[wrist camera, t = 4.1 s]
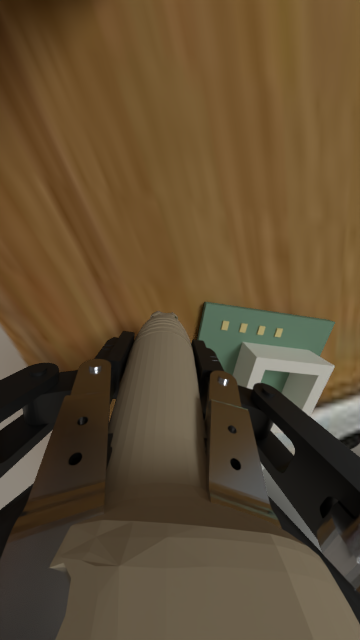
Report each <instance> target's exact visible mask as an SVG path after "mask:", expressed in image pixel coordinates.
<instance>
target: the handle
mask: <svg viewBox="0 0 360 640" xmlns="http://www.w3.org/2000/svg"><path fill="white" fill-rule="evenodd" d="M108 433H114V434H113V438H112V442H111V446H110V447H112V453H111V457H110V460H109V464H108V467H107V470H106V486H105V505H104V514H102V515H99V516H96V517H93V518H90V519H87V520H84V521H82V522H79V523H76V524H73V525H72V526H70V528H69V530H68V532H67V534H66V536H65V538H64V540H63V542H62V544H61V545H60V547H59V549H58V551H57V553H56V555H55V557H54V558H53V560H52V562H51V565H50V567H49V568H58V567H66V569H67V571H68V573H69V575H70V577H71V582H70V589H69V595H68V602H67V609H66V615H65V617H64V620H63V622H62V625H61V627H60V630H59V632H58V634H57V637H56V639H55V640H360V624H359V622H358V620H357V618H356V617H355V615H354V613H353V611H352V609H351V607H350V605H349V604H348V602H347V600H346V598H345V597H344V595H343V593H342V592H341V590H340V588H339V586H338V585H337V583H336V581H335V580H334V578H333V576H332V575H331V573H330V571H329V569H328V568H327V566H326V565H325V563H324V562H323V561H322V559H321V558H320V556H319V555H317V554H316V553H315V552H314V551H313V550H311V549H310V548H309V547H308V546H307V545H305V544H304V543H302V542H301V541H299V540H298V539H297V538H295V537H294V536H292V535H291V534H290V533H288V532H286V531H284V530H283V529H281V528H279V527H277V526H275V525H273V524H271V523H270V522H268V521H265V520H263V519H260V518H257V517H255V516H252V515H249V514H246V513H243V512H240V511H237V510H234V509H232V508H229V507H226V506H222V505H218V504H213V503H211V502H210V501H209V499H208V494H207V491H206V453H205V451H206V447H205V440H204V438H207V435H206V432H205V423H204V418H203V412H202V406H201V400H200V393H199V387H198V380H197V373H196V366H195V359H194V354H193V350H192V346H191V342H190V340H189V337H188V335H187V333H186V331H185V329H184V327H183V326H182V324H181V323H180V322H179V321H178V317H177V315H175V314H174V313H173V312H172V313H162V312H160V311H157V312H154V313H153V314H152V315H151V318H150V319H149V320H148V321H147V322H146V323H145V324H144V325H143V327H142V328H141V330H140V331H139V333H138V335H137V336H136V338H135V340H134V343H133V345H132V348H131V350H130V353H129V355H128V359H127V363H126V366H125V370H124V373H123V377H122V381H121V384H120V388H119V391H118V395H117V398H116V402H115V405H114V409H113V412H112V415H111V419H110V422H109V427H108Z"/></svg>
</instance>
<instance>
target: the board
mask: <svg viewBox="0 0 360 640" xmlns="http://www.w3.org/2000/svg"><path fill="white" fill-rule="evenodd" d="M334 324H335V322H333V321H330V320H326V319H319V318H312V317H305V316H299V315H292V314H285V313H278V312H272V311H265V310H258V309H251V308H244V307H238V306H231V305H224V304H217V303H211V302H205V303H204V308H203V313H202V318H201V323H200V327H199V332H198V337H197V340H202V341H204V343H205V345H206V347H207V348H211V349H212V350H213V351H214V352H215V353H216V355H217V358H218V359H219V361H220V363H221V365H222V367H223V369H224V371H225V372H227V373H229V374H231V375H232V376H233V372H234V369H235V366H236V362H237V359H238V356H239V352H240V349H241V345H242V342H248V343H256V344H264V345H272V346H280V347H288V348H296V349H304V350H310V351H311V352H313V353H315V354H316V355H318V356H319V357H320V354H321V352H322V350H323V348H324V346H325V344H326V341H327V339H328V337H329V335H330V333H331V330H332V328H333V326H334ZM289 373H290V372H282V371H272V370H265V372H264V374H263V377H262V380H261V383H265V384H268V385H270V386H272V387H274V388H275V389H277V390H278V391H279V392H281V393H282V390H283V388H284V385H285V383H286V381H287V378H288V376H289Z"/></svg>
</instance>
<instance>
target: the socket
mask: <svg viewBox="0 0 360 640" xmlns="http://www.w3.org/2000/svg"><path fill="white" fill-rule="evenodd" d="M334 367H335V366H334V365H332V364H331V363H329V362H327V361H326V360H324V359H323V358H321V357H319V356H318V355H316V354H315V353H313V352H311V351H310V350H304V349H296V348H288V347H280V346H272V345H264V344H256V343H248V342H242V345H241V349H240V352H239V356H238V359H237V362H236V366H235V369H234V372H233V377H234V378H235V379H236V381H237V385H240V386H243V387H246V388H249V389H253V386H254V384H256V383H261V380H262V377H263V374H264V372H265V370H272V371H282V372H290V373H289V376H288V378H287V381H286V383H285V385H284V388H283V390H282V394H283V395H284V396H285V397H287V398H288V399H289V400H290V401H292V402H293V403H294V404H295V405H296V406H298V407H299V408H300V409H301V410H302V411H304V412H305V413H306V414H307V415H309V416H310V415H311V413H312V411H313V409H314V407H315V405H316V403H317V401H318V399H319V397H320V395H321V393H322V391H323V389H324V387H325V385H326V383H327V381H328V379H329V377H330V375H331V373H332V371H333V369H334ZM271 431H272V433H273V434H274V435H275V433H283V432H282V431H281V430H280V429H279V428H278V427H277V426H276V425H275V424H274V423H273V426H272V428H271Z"/></svg>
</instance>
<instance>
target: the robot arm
mask: <svg viewBox="0 0 360 640" xmlns="http://www.w3.org/2000/svg"><path fill="white" fill-rule="evenodd" d="M133 343H134V332H126V331H123V332H122V333H121V335H120V337H119V338H116V337H113V338H111V339H110V340H108V341H107V342H106V344H105V346H103V348H102V349H101V350H100V352H99V353H98V355H97V356H96V357H95V359H92V360H88V361H86V362H84V363H82V364H81V365H80V367H79V369H78V370H75V371H68V372H59V368H58V366H57V365H55V364H52V363H39V364H34V365H31V366H28V367H26V368H24V369H22V370H20V371H18V372H16V373H14V374H12V375H10V376H8V377H6V378H4V379H2V380H0V423H1V422H2V421H4V420H5V419H7V418H8V417H10V416H11V415H13V414H14V413H15V412H17V411H18V410H20V409H21V408H23V415H21V416H20V417H18V418H17V419H16V420H15V421H13V422H11V423H10V424H9V425H7V426H6V427H4V428H3V429H2V430H0V478H1V477H2V476H3V475H4V474H5V473H6V472H7V471H8V470H9V469H11V468H12V467H13V466H14V465H15V464H16V463H17V462H18V461H19V460H20V459H21V458H22V457H24V456H25V455H26V454H27V453H28V452H29V451H30V450H31V449H32V448H33V447H34V446H35V445H36V444H38V443H39V442H40V441H41V440H42V439H43V438H44V437H45V436H46V435H47V434H48V433H49V432H50V431H52V430H53V431H52V433H51V436H50V439H49V442H48V445H47V448H46V450H45V453H44V456H43V459H42V462H41V465H40V467H39V470H38V473H37V476H36V479H35V482H34V483H33V484H32V485H31V486H30V487H28V488H27V489H26V490H25V491H24V492H22V493H21V494H20V495H19V496H17V497H16V498H15V499H14V500H12V501H11V502H10V503H9V504H7V505H6V506H5V507H3V508H2V509H1V510H0V640H55V639H56V637H57V634H58V632H59V630H60V627H61V625H62V622H63V620H64V617H65V615H66V609H67V602H68V595H69V589H70V582H71V577H70V575H69V573H68V571H67V569H66V567H58V568H49V567H50V565H51V562H52V560H53V558H54V557H55V555H56V553H57V551H58V549H59V547H60V545H61V544H62V542H63V540H64V538H65V536H66V534H67V532H68V530H69V528H70V526H72V525H73V524H76V523H79V522H82V521H84V520H87V519H90V518H93V517H96V516H99V515H102V514H104V505H105V486H106V470H107V467H108V464H109V460H110V457H111V453H112V447H110V446H111V442H112V438H113V434H114V433H108V427H109V412H110V404H111V402H112V399H116V398H117V395H118V391H119V388H120V384H121V381H122V377H123V373H124V370H125V366H126V363H127V359H128V355H129V353H130V350H131V348H132V345H133ZM191 346H192V350H193V354H194V359H195V366H196V373H197V380H198V387H199V393H200V400H201V406H202V412H203V418H204V423H205V432H206V435H207V438H204V440H205V447H206V451H205V453H206V491H207V494H208V499H209V501H210V502H211V503H213V504H218V505H222V506H226V507H229V508H232V509H234V510H237V511H240V512H243V513H246V514H249V515H252V516H255V517H257V518H260V519H263V520H265V521H268V522H270V523H271V524H273V525H275V526H277V527H279V528H281V529H283V530H284V531H286V532H288V533H290V534H291V535H292V536H294V537H295V538H297V539H298V540H299V541H301V542H302V543H304V544H305V545H307V546H308V547H309V548H310V549H311V550H313V551H314V552H315V553H316V554H317V555H319V556H320V558H321V559H322V561H323V562H324V563H325V565H326V566H327V568H328V569H329V571H330V573H331V575H332V576H333V578H334V580H335V581H336V583H337V585H338V586H339V588H340V590H341V592H342V593H343V595H344V597H345V598H346V600H347V602H348V604H349V605H350V607H351V609H352V611H353V613H354V615H355V617H356V618H357V620H358V622H359V624H360V457H359V456H357V455H356V454H355V453H353V451H351V450H350V449H349V448H348V447H346V446H345V445H344V444H343V443H342V442H340V441H339V440H338V439H337V438H335V437H334V436H333V435H332V434H331V433H329V432H328V431H327V430H326V429H324V428H323V427H322V426H321V425H320V424H318V423H317V422H316V421H315V420H313V419H312V418H311V417H310V416H309V415H307V414H306V413H305V412H304V411H302V410H301V409H300V408H299V407H298V406H296V405H295V404H294V403H293V402H292V401H290V400H289V399H288V398H287V397H285V396H284V395H283V394H282V393H281V392H279V391H278V390H277V389H275V388H274V387H272V386H270V385H268V384H265V383H256V384H254V386H253V389H249V388H246V387H243V386H240V385H237V381H236V379H235V378H234V377H233V376H232V375H231V374H229V373H227V372H225V371H224V369H223V367H222V365H221V363H220V361H219V359H218V358H217V355H216V353H215V352H214V351H213V350H212V349H211V348H207V347H206V345H205V343H204V341H202V340H194V339H193V340H192V344H191ZM273 423H274V424H275V425H276V426H277V427H278V428H279V429H280V430H281V431H282V432H283V433H284V434H285V435H286V436H287V437H288V438H289V439H290V440H291V442H292V443H293V445H294V448H295V454H294V456H293V454H292V453H291V452H290V451H289V450H288V449H287V448H286V447H285V446H284V445H283V443H282V442H281V441H280V440H279V439H278V438H277V437H276V436H275V435H274V434H273V433H272V431H271V428H272V426H273ZM260 462H261V463H262V464H263V466H264V467H265V469H266V470H267V471H268V473H269V474H270V475H271V477H272V478H273V479H274V481H275V482H276V484H277V485H278V486H279V488H280V489H281V490H282V492H283V493H284V494H285V496H286V497H287V499H288V500H289V501H290V502H291V504H292V505H293V507H294V508H295V509H296V511H297V512H298V513H299V515H300V516H301V518H302V519H303V520H304V522H305V523H306V524H307V526H308V527H309V528H310V530H311V531H312V533H313V534H314V535H315V537H316V538H317V539H318V542H319V545H320V548H321V550H322V553H323V554H322V553H321V552H320V550H319V549H318V548H317V547H316V546H315V545H314V544H313V543H312V542H311V541H310V540H309V539H308V538H307V537H306V536H305V534H304V533H303V532H302V531H301V530H300V529H299V528H298V527H297V526H296V525H295V524H294V523H293V522H292V521H291V520H290V519H289V518H288V516H287V515H286V514H285V513H284V512H283V511H282V510H281V509H280V508H279V507H278V506H277V505H276V504H275V503H274V501H273V500H272V499H271V498H270V497H269V496H268V494H267V489H266V485H265V480H264V476H263V472H262V467H261V463H260Z"/></svg>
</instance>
